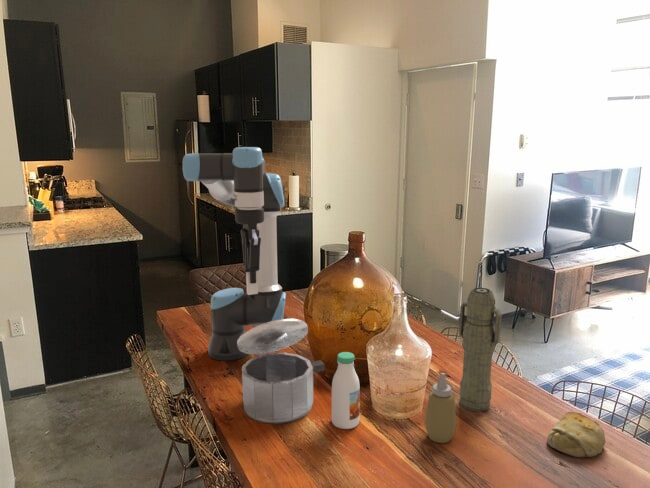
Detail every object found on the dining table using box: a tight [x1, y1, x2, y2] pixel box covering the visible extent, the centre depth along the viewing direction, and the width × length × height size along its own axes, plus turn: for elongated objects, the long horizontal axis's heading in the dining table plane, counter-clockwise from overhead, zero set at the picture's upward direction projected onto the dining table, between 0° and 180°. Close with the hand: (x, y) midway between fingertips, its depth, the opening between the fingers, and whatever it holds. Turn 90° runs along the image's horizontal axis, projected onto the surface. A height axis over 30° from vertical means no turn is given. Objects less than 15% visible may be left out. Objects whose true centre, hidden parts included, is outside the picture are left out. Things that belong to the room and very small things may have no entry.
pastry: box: [546, 411, 606, 458], centre depth 131 cm, size 14×12×8 cm
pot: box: [241, 352, 326, 425], centre depth 152 cm, size 24×20×12 cm
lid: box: [237, 318, 309, 356], centre depth 152 cm, size 22×21×3 cm
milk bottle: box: [331, 351, 361, 430], centre depth 141 cm, size 8×8×20 cm
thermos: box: [458, 287, 503, 412], centre depth 149 cm, size 9×12×35 cm
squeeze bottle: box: [424, 372, 457, 444], centre depth 134 cm, size 8×8×18 cm
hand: (252, 293), depth 140 cm, fingers closed
